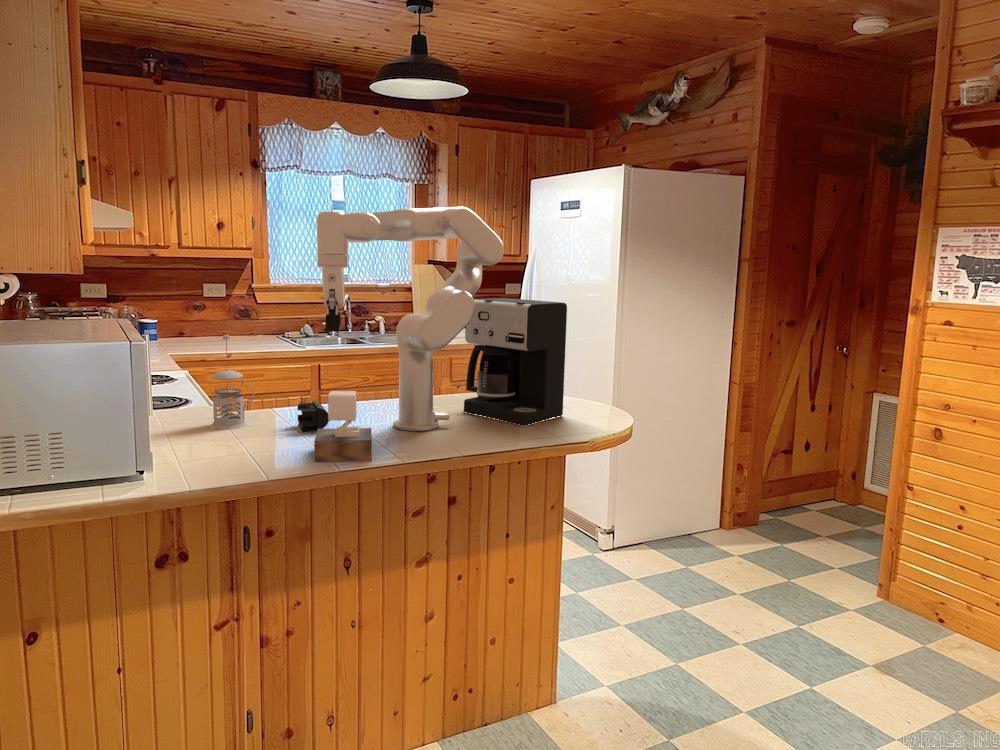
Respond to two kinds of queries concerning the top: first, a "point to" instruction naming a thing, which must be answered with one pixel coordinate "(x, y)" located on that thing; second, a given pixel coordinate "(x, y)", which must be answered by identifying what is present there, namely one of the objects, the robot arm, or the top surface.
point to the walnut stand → (343, 446)
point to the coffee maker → (517, 359)
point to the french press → (229, 400)
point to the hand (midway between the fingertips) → (333, 329)
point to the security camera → (343, 412)
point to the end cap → (312, 417)
